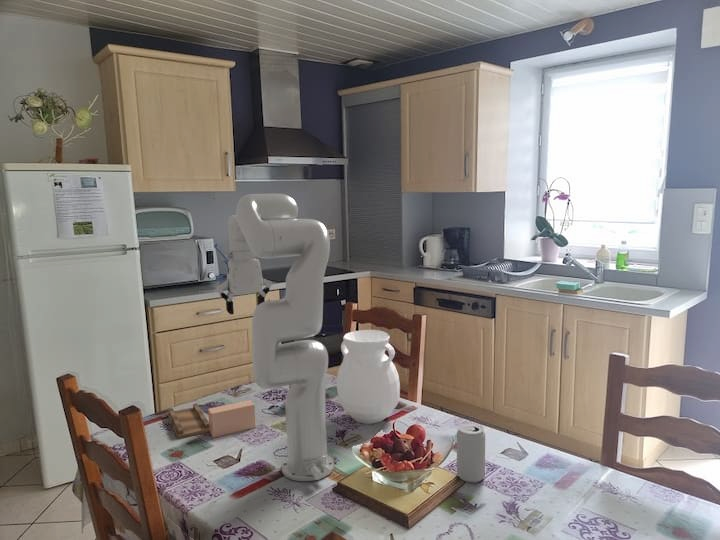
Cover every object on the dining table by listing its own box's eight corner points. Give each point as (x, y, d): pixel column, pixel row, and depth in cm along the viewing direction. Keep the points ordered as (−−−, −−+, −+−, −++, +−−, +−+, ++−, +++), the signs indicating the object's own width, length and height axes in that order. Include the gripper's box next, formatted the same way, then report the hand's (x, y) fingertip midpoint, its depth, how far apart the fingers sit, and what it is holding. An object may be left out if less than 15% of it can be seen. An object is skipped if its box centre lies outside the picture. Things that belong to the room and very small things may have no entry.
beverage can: (483, 486, 120) (483, 435, 118) (454, 481, 122) (454, 432, 120) (486, 472, 126) (487, 424, 124) (459, 468, 128) (459, 420, 126)
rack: (211, 431, 151) (211, 424, 151) (178, 439, 147) (177, 431, 146) (198, 409, 167) (197, 402, 166) (167, 415, 162) (167, 408, 162)
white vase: (324, 422, 155) (321, 338, 152) (359, 401, 170) (358, 324, 167) (379, 437, 145) (377, 347, 141) (411, 413, 160) (411, 331, 156)
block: (255, 427, 153) (254, 404, 152) (213, 438, 147) (211, 413, 146) (251, 422, 156) (249, 399, 155) (209, 432, 151) (208, 408, 150)
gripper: (218, 259, 153) (222, 317, 156) (274, 254, 162) (277, 309, 165) (210, 257, 160) (214, 313, 162) (265, 252, 169) (267, 305, 171)
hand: (246, 311), depth 164 cm, fingers open, 9 cm apart
